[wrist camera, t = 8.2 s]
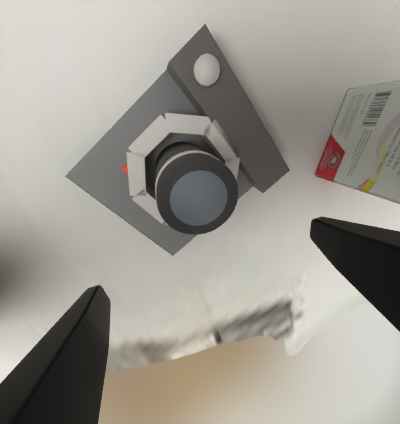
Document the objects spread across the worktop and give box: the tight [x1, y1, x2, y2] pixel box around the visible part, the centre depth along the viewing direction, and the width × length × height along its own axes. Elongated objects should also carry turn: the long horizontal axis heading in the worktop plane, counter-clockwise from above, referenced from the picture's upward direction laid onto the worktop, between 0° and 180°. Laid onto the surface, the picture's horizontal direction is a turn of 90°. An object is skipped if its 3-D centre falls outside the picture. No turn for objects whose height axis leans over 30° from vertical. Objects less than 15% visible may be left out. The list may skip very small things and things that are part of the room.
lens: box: [155, 142, 238, 235], centre depth 14 cm, size 5×5×7 cm
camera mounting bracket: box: [65, 24, 289, 256], centre depth 16 cm, size 14×12×4 cm
